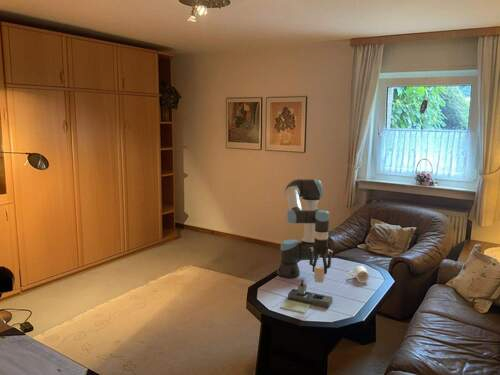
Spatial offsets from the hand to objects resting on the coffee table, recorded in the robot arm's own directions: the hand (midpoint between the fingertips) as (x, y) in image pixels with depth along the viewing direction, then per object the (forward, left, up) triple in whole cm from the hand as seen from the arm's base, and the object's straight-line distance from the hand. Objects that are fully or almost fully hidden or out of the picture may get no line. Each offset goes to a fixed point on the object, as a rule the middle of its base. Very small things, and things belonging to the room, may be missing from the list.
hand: (319, 278), depth 229 cm
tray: (-10, -11, -15) cm, 21 cm away
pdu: (-5, 0, -15) cm, 16 cm away
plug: (0, 0, -2) cm, 2 cm away
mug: (+13, +47, -16) cm, 51 cm away
